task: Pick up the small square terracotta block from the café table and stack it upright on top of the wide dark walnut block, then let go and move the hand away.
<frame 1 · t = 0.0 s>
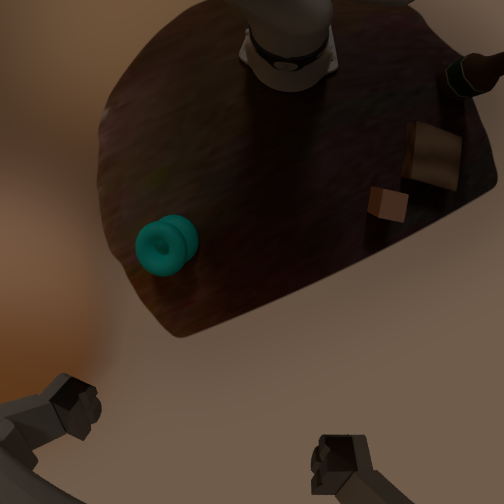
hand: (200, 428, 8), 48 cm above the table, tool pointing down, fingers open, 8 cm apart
walnut block: (426, 157, 48), on the table
terracotta block: (381, 201, 51), on the table
beer bottle: (449, 85, 42), on the table
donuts: (177, 237, 58), on the table
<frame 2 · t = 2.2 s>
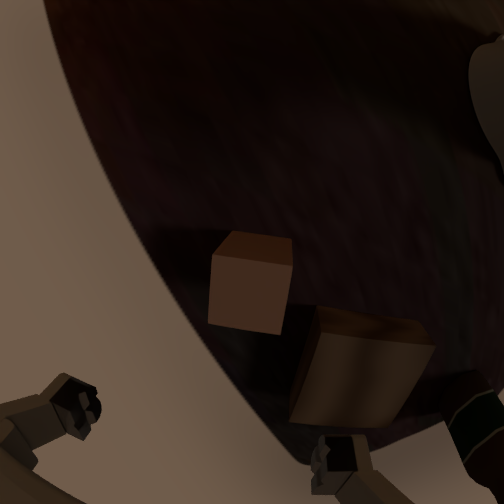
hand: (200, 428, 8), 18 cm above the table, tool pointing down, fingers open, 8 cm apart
walnut block: (353, 358, 27), on the table
terracotta block: (258, 262, 25), on the table
beer bottle: (460, 390, 27), on the table
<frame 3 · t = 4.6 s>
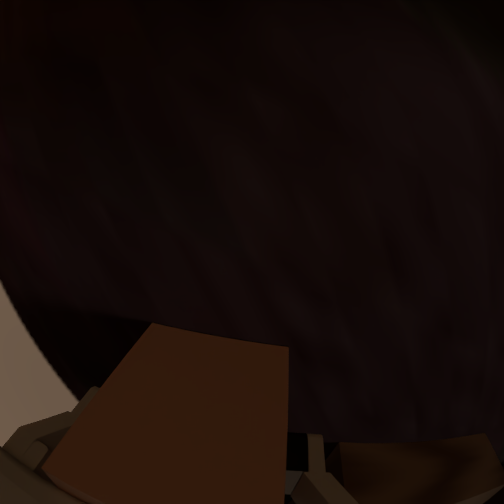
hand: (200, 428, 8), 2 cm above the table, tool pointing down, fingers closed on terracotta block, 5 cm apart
walnut block: (379, 484, 13), on the table
terracotta block: (214, 386, 11), on the table, touching gripper
beer bottle: (501, 472, 13), on the table
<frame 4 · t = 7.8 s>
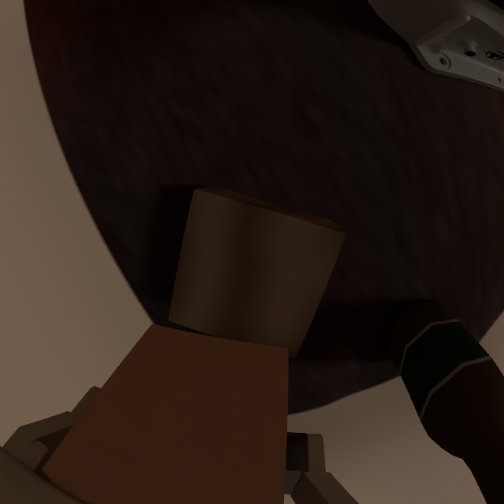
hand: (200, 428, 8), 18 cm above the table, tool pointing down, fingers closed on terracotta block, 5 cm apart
walnut block: (255, 261, 26), on the table
terracotta block: (214, 387, 11), point 16 cm above the table, touching gripper
beer bottle: (418, 329, 26), on the table
when the fingers open (8 cm above the table, at t = 11.0 s): terracotta block drops 2 cm, resting on walnut block.
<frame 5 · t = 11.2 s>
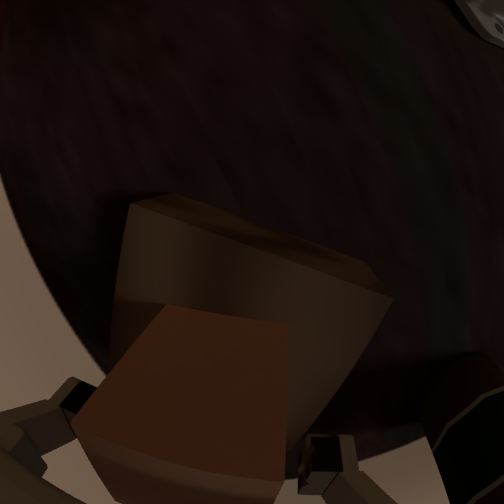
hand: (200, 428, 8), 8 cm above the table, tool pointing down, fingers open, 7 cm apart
walnut block: (238, 312, 17), on the table, touching terracotta block
terracotta block: (221, 363, 12), point 5 cm above the table, touching walnut block
beer bottle: (455, 386, 17), on the table
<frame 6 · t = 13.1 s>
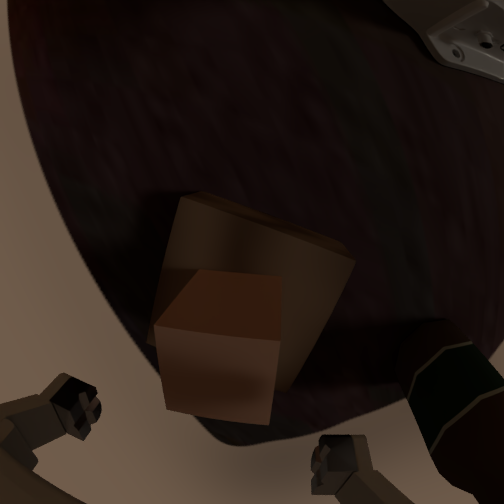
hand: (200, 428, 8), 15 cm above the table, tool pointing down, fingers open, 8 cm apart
walnut block: (248, 280, 23), on the table, touching terracotta block
terracotta block: (238, 310, 18), point 5 cm above the table, touching walnut block
beer bottle: (426, 350, 23), on the table
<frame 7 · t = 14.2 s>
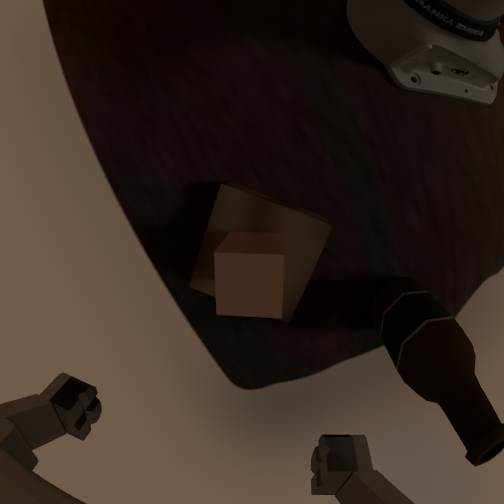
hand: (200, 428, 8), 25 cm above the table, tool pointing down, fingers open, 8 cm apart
walnut block: (260, 244, 33), on the table, touching terracotta block
terracotta block: (256, 257, 28), point 5 cm above the table, touching walnut block
beer bottle: (396, 303, 33), on the table
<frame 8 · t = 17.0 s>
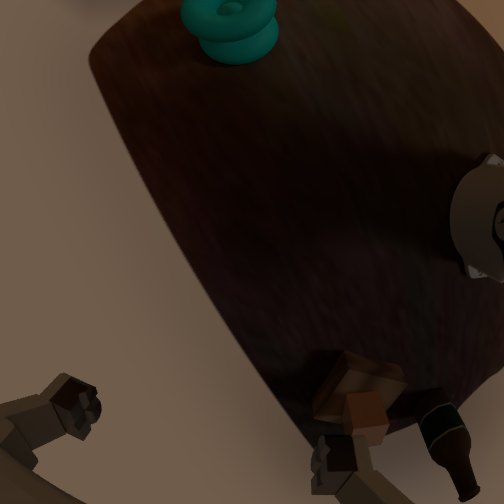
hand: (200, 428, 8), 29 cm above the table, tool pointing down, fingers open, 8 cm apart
walnut block: (355, 382, 42), on the table
terracotta block: (360, 403, 37), point 5 cm above the table
beer bottle: (429, 401, 41), on the table
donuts: (239, 36, 29), on the table
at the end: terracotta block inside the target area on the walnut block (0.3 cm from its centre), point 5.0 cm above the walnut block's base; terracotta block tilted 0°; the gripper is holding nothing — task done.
